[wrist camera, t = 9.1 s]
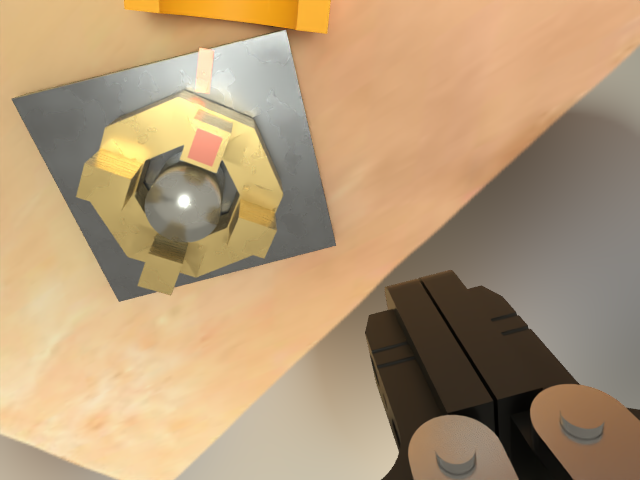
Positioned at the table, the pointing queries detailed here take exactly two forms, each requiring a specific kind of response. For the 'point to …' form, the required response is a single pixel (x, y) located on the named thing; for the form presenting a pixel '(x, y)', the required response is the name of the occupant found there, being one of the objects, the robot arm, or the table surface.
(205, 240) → the ring nut
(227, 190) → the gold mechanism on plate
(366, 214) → the table surface
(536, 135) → the table surface
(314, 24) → the pipe clamp
